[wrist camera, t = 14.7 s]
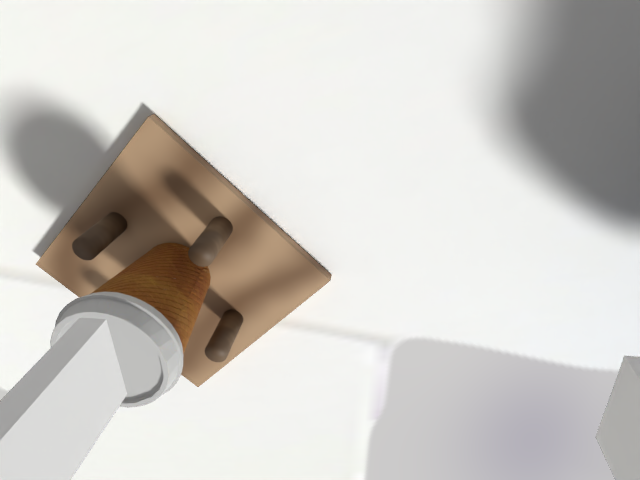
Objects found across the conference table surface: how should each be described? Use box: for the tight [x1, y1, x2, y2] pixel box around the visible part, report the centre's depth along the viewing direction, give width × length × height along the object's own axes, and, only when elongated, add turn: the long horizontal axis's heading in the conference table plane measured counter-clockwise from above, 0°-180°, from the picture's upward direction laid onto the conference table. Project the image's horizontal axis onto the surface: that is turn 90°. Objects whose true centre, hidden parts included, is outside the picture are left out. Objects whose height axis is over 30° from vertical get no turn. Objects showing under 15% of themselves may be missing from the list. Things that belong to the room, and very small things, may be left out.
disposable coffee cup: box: [50, 243, 211, 407], centre depth 38 cm, size 10×10×12 cm
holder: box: [36, 114, 331, 387], centre depth 42 cm, size 20×20×6 cm
